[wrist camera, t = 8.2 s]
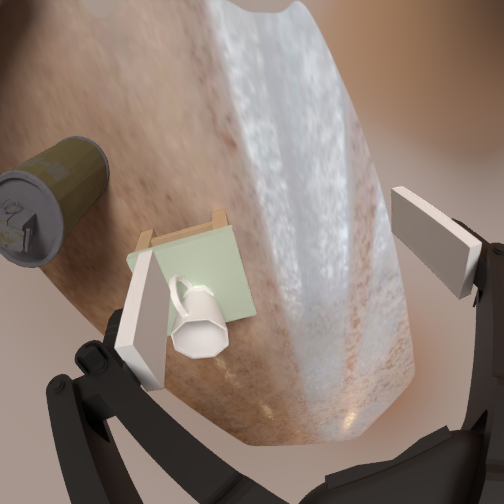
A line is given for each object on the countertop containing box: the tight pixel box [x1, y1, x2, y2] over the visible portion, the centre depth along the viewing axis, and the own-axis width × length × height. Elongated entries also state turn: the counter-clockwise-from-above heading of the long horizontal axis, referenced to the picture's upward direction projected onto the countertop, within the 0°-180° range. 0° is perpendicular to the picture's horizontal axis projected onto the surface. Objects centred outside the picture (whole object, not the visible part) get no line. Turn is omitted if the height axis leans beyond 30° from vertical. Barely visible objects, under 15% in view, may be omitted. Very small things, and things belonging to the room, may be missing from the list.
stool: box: [126, 208, 257, 336], centre depth 45 cm, size 14×14×8 cm
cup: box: [169, 274, 229, 359], centre depth 38 cm, size 7×10×8 cm
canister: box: [0, 136, 109, 268], centre depth 30 cm, size 11×10×20 cm
